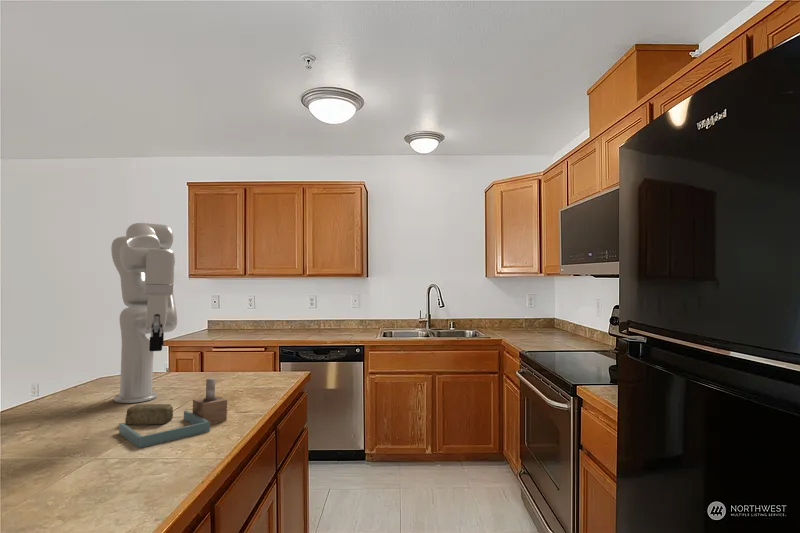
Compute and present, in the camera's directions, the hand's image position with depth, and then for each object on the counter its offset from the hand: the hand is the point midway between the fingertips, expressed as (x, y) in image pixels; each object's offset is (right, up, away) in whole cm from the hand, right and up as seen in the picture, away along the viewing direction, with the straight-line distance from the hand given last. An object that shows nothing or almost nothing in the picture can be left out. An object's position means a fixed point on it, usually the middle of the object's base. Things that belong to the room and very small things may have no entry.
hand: (156, 348), depth 133 cm
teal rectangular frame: (+8, -21, -11) cm, 25 cm away
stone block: (0, -21, -4) cm, 21 cm away
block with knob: (+16, -21, -1) cm, 26 cm away
